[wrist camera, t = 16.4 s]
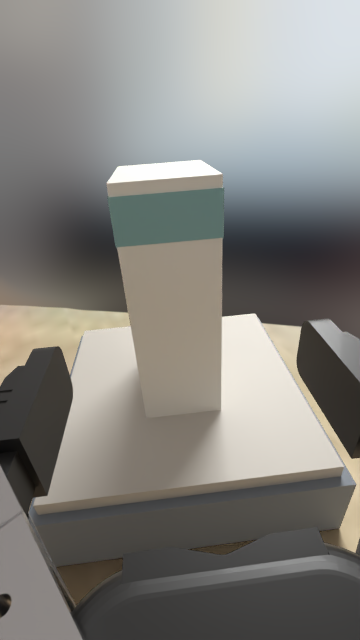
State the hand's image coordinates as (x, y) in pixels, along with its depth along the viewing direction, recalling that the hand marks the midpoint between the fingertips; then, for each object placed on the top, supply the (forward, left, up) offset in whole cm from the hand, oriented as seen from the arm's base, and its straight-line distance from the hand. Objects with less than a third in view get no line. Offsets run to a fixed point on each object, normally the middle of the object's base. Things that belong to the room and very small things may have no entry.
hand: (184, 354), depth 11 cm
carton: (0, +8, -8) cm, 11 cm away
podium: (0, +8, -13) cm, 15 cm away
